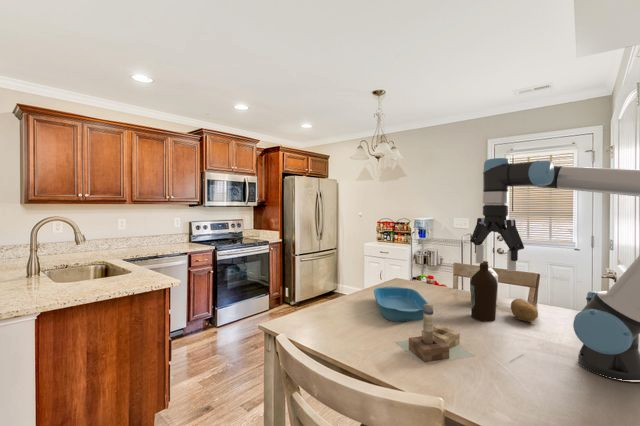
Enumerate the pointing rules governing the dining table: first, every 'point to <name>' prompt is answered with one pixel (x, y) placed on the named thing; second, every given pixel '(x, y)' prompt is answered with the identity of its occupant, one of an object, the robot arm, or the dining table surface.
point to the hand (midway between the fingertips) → (494, 266)
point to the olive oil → (483, 294)
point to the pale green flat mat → (453, 354)
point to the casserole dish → (399, 303)
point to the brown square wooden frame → (429, 349)
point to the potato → (523, 310)
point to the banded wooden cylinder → (428, 324)
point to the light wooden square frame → (446, 336)
